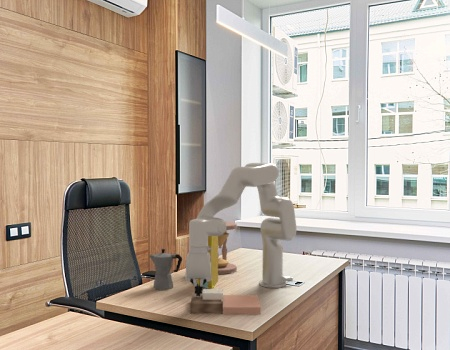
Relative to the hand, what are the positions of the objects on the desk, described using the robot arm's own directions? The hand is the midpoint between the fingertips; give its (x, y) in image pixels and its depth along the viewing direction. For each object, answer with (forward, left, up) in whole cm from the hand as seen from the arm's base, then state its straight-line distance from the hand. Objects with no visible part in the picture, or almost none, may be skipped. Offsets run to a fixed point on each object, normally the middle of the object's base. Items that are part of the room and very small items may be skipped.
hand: (198, 295), depth 187 cm
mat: (-17, 0, -5) cm, 18 cm away
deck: (-3, 0, -5) cm, 6 cm away
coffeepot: (+17, -28, -5) cm, 33 cm away
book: (-3, -33, -5) cm, 34 cm away
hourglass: (-8, -61, -5) cm, 62 cm away
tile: (-6, 0, -1) cm, 6 cm away
